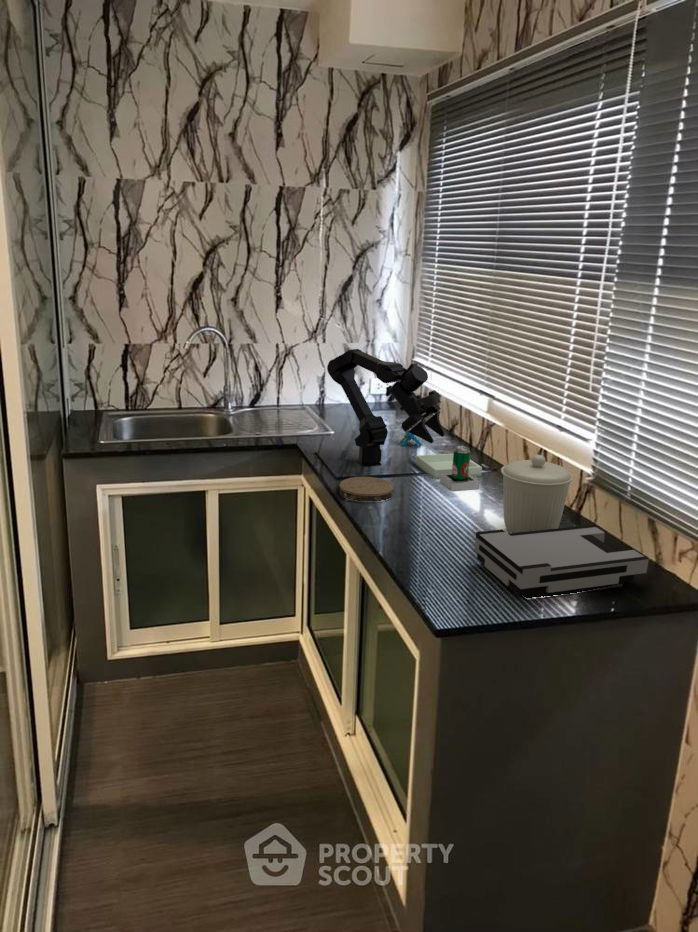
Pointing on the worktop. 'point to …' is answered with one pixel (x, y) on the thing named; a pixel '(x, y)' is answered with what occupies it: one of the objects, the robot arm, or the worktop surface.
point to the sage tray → (443, 465)
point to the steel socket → (459, 483)
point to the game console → (556, 560)
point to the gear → (409, 438)
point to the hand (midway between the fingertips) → (438, 439)
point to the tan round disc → (366, 489)
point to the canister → (534, 494)
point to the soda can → (460, 463)
